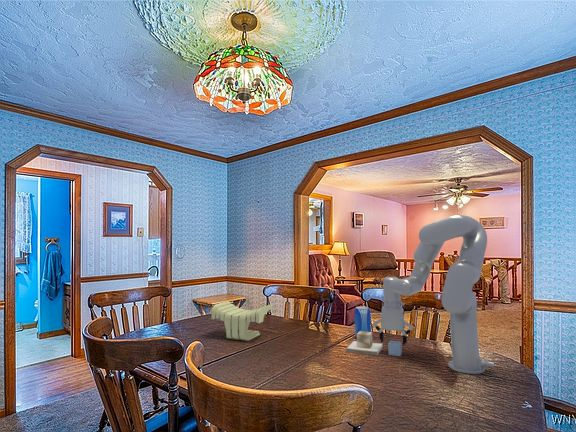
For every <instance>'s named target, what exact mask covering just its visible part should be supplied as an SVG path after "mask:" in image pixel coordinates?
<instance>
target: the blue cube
mask: <svg viewBox="0 0 576 432" xmlns="http://www.w3.org/2000/svg"><path fill="white" fill-rule="evenodd" d="M402 345H403V343H402V341H399V340H389V341H388V342H387V347H388V348H387V350H388V355H389V356H396V357H401V356H402V354H403V350H402V349H403V346H402Z"/></svg>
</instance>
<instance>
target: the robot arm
mask: <svg viewBox="0 0 576 432" xmlns="http://www.w3.org/2000/svg"><path fill="white" fill-rule="evenodd" d="M460 237H462V239H463V240H462V244H461V247H460V251H459V256H458V259H457V261H456V262H454V263H452V264H451V265H450V266H449V268H448V270H447V272H446V276H445V281H444V285H443V289H442V293H441V305H442V307H443V308H444V310H445V311H446V312H447V313H449V329H450V341H451V343H450V344H451V357H452V358H451V360H450V361H448V367H449V368H450V369H451V370H453V371H456V372H458V373H463V374H468V375H469V374H471V375H479V374H482V373H484V372H486V367H488V368H495V363H494V362H493V361H490V360H488V359H482V358H481V355H480V347H479V333H478V332H479V331H478V317H477V315H478V314H477V313H478V312H477V311H478V301H477V300H478V299H477V296H476V294H475V292H474V291H473V288H474V284H476V283H477V282H478V281H479V280H480V278H481V274H482V268H483V265H484V260H485V254H486V249H487V247H488V246H487V245H488V235H487V231H486V228H485V227H484V226H483V225H482V224H481V222H479V221H478V220H476V219H475V218H473V217H471V216H467V215H462V214H454V215H451V216H447V217H445V218H443V219H439V220H437V221H433V222H431V223H427V224H426V225H424V226H423V227H421V229H420V230H419V232H418V239H419V243H418V245H417V248H416V249H415V251H414V253H413V256H412V257H413V260H414V267H413V269H412V270H411V273H410V274H409V276H408V277H405V278H399V277H395V276H386V277H384V278H383V280H382V281H383V282H382V283H383V306H382V308H381V313H380V314H381V316H380V319H376V320H374V321H373V323H372V324H373V326H374V327H375V329H376V330H377V331H378V334H379V336H378V337H379V340H380V343H383V342H384V340H385V339H384V337H385V335H384V330H386V331H395V332H396V331H397V332H401V333H402V345H403V346H405V345H406V344H407V342H408V340H407V339H408V335H409V334H410V333H411V332H412V330H413V328H414V325H412V324H410V323H409V322H407V321H406V319H405V311H404V308H403V307H404V306H405V302H402V297H401V296H403V297H409V296H413V295H415V294H417V293H418V294H419V293H420V292H421V290H423V288H424V285H425V284H426V283H427V281H428V279H429V276H430V274H431V271H432V268H433V264H434V262H435V260H436V259H437V257H438V255H439V253H440V251H441V249H442V248H443V246H444V244H445V242H447V241H450V240H453V239H455V238H460ZM379 323H380V326H379V325H378V324H379ZM406 327H408V329H407V330H406V329H405V328H406Z"/></svg>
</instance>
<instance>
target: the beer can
mask: <svg viewBox="0 0 576 432" xmlns="http://www.w3.org/2000/svg"><path fill="white" fill-rule="evenodd" d="M353 317H354V336H355V337H356V339H357V333H358V332H359V331H365V332H372V321H371V319H372V316H371V311H370V309H369V307H368V306H365V305H364V306H362V305H361V306H356V307H355V310H354V315H353Z"/></svg>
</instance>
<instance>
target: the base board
mask: <svg viewBox="0 0 576 432" xmlns="http://www.w3.org/2000/svg"><path fill="white" fill-rule="evenodd" d="M383 345H384V343H383V342H374V341H373V345H372V347H371V348H370V349H368V348H359V347H357V340H353V341H352V342H351V343H350V344H349V345H348V347H346V349H345V352H346V353H352V354H359V355H367V356H376V357H377V356H379V353H380V352H381V351H382V349H383V348H384V347H383Z"/></svg>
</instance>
